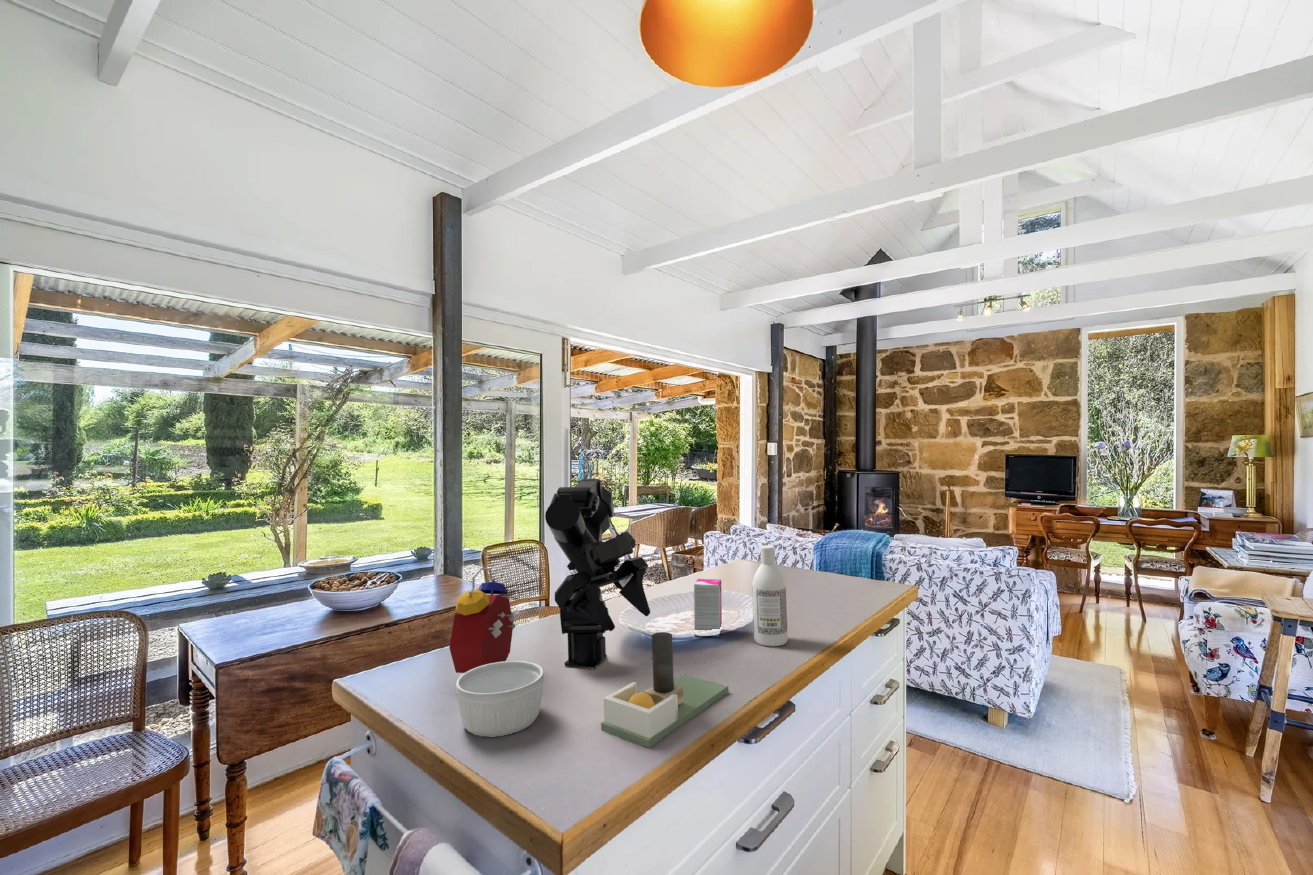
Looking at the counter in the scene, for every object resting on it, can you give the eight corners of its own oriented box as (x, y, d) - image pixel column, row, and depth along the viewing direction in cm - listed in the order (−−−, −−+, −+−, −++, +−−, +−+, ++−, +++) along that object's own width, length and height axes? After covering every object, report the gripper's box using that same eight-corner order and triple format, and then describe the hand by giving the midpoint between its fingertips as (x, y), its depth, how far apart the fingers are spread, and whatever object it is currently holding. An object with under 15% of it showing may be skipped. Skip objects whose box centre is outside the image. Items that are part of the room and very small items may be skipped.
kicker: (644, 706, 87) (642, 637, 87) (663, 695, 91) (661, 628, 91) (664, 713, 84) (662, 642, 84) (683, 701, 88) (681, 633, 88)
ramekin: (475, 702, 93) (474, 660, 94) (553, 700, 93) (552, 658, 93) (442, 743, 80) (441, 694, 80) (533, 742, 80) (531, 693, 80)
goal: (603, 721, 83) (603, 697, 83) (634, 703, 89) (633, 681, 89) (650, 738, 78) (649, 713, 78) (679, 718, 83) (678, 695, 83)
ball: (629, 686, 83) (646, 686, 86) (617, 711, 83) (634, 710, 86) (647, 703, 80) (663, 702, 83) (635, 728, 80) (651, 727, 83)
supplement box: (720, 637, 121) (719, 584, 122) (693, 636, 123) (692, 584, 123) (723, 629, 127) (721, 578, 127) (697, 628, 128) (695, 578, 129)
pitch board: (601, 729, 83) (601, 722, 83) (684, 679, 100) (684, 674, 100) (648, 747, 77) (648, 740, 77) (728, 691, 94) (728, 685, 94)
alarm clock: (485, 658, 113) (483, 559, 114) (526, 659, 112) (524, 559, 112) (449, 689, 98) (446, 576, 99) (495, 691, 97) (493, 576, 98)
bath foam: (793, 645, 115) (789, 548, 116) (762, 648, 114) (758, 550, 114) (779, 634, 122) (775, 543, 123) (749, 638, 121) (746, 545, 121)
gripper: (564, 525, 88) (620, 605, 81) (638, 512, 103) (690, 579, 96) (532, 570, 93) (582, 649, 86) (607, 551, 108) (655, 618, 101)
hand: (631, 621), depth 92 cm, fingers open, 9 cm apart
